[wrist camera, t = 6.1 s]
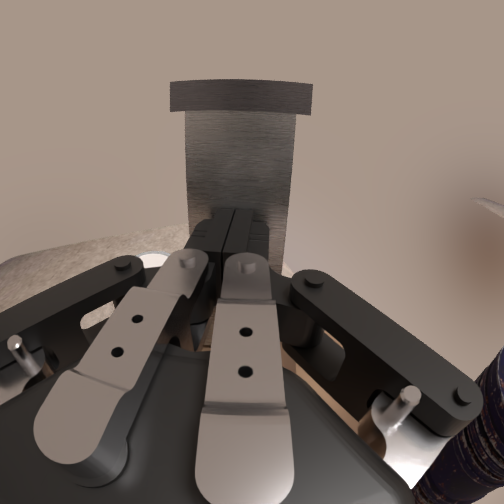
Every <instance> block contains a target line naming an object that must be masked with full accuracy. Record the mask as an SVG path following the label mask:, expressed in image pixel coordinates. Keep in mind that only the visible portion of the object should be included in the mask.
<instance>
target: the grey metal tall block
mask: <svg viewBox="0 0 504 504" xmlns="http://www.w3.org/2000/svg"><path fill="white" fill-rule="evenodd" d="M312 90H313V84H305V83H296V82H285V81H270V80H244V79H222V80H221V79H217V80H190V81H177V82H170V112H175V111H185V150H186V151H185V152H186V182H187V203H188V220H189V234H190V236H191V234H192V232H193V231H194V228H195V227H196V225H197V224H198V223H199V222H201V221H202V220H204V219H213V217H214V215H215V213H216V211H217V209H218V208H219V209H235V211H236V209H238V210H253V222H265V223H266V224H267V226H268V227H269V228H270V234H269V258H268V263H269V266H270V268H271V269H272V270H273V271H275V272H276V273H278V274H280V275H281V272H282V264H283V255H284V245H285V236H286V226H287V216H288V207H289V196H290V184H291V174H292V163H293V150H294V137H295V124H296V114H302V115H311V104H312ZM215 313H216V306H214V309H213V313H212V324H211V327H210V329H209V332H208V335H207V338H206V341H205V343H204V345H211V344H212V336H213V328H214V321H215Z"/></svg>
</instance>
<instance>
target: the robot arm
mask: <svg viewBox="0 0 504 504" xmlns="http://www.w3.org/2000/svg"><path fill="white" fill-rule="evenodd" d="M269 234H270V228H269V227H268V226H267V224H266V223H265V222H253V210H238V209H236V211H235V209H219V208H218V209H217V211H216V213H215V215H214V217H213V219H204V220H202V221H201V222H199V223H198V224H197V225H196V227H195V228H194V231H193V232H192V234H191V236H190V238H189V240H188V241H187V243H186V245H185V247H184V249H182V250H178V251H176V252H174V253H172V254H171V255H169V257H168V258H167V259H166V261H165V262H164V263H163V265H162V266H159V267H151V268H144V265H143V261H142V260H141V259H140V258H139V257H137V256H132V255H125V256H120V257H117V258H114V259H112V260H110V261H107V262H105V263H103V264H101V265H99V266H96V267H94V268H92V269H90V270H87V271H85V272H83V273H81V274H79V275H77V276H74V277H72V278H70V279H68V280H66V281H64V282H62V283H59V284H57V285H55V286H53V287H51V288H49V289H47V290H45V291H43V292H41V293H39V294H37V295H35V296H33V297H31V298H29V299H27V300H25V301H23V302H21V303H19V304H17V305H15V306H13V307H11V308H9V309H7V310H5V311H3V312H1V313H0V504H415V500H414V496H413V493H412V491H411V489H412V487H413V486H414V485H415V484H416V483H417V482H418V480H419V479H420V478H421V477H422V475H423V474H424V473H425V472H426V470H427V469H428V468H429V467H430V465H431V464H432V463H433V461H434V460H435V459H436V457H437V456H438V454H439V453H440V452H441V450H442V449H443V447H444V446H445V444H446V443H447V442H448V441H449V440H450V439H452V438H453V437H454V436H455V435H456V434H458V433H459V432H460V431H461V430H462V429H464V428H465V427H466V426H467V425H468V424H469V423H470V422H472V421H473V420H474V419H475V418H476V417H477V416H478V415H479V414H480V412H481V410H482V407H483V395H482V392H481V390H480V388H479V387H478V385H477V384H476V383H475V382H474V381H473V380H472V379H470V378H469V377H468V376H467V375H465V374H464V373H463V372H461V371H460V370H459V369H457V368H456V367H455V366H453V365H452V364H451V363H449V362H448V361H447V360H446V359H444V358H443V357H442V356H440V355H439V354H438V353H436V352H435V351H434V350H432V349H431V348H429V347H428V346H427V345H426V344H424V343H423V342H422V341H420V340H419V339H417V338H416V337H415V336H413V335H412V334H411V333H409V332H408V331H407V330H405V329H404V328H403V327H401V326H400V325H398V324H397V323H396V322H394V321H393V320H392V319H390V318H389V317H387V316H386V315H385V314H383V313H382V312H380V311H379V310H378V309H376V308H375V307H373V306H372V305H371V304H369V303H368V302H366V301H365V300H363V299H362V298H361V297H359V296H358V295H356V294H355V293H354V292H352V291H351V290H349V289H348V288H347V287H345V286H344V285H343V284H341V283H340V282H338V281H337V280H335V279H334V278H333V277H331V276H330V275H328V274H326V273H324V272H321V271H318V270H302V271H299V272H297V273H295V274H294V275H293V276H292V278H288V277H285V276H282V275H280V274H278V273H276V272H275V271H273V270H272V269H271V268H270V266H269V263H268V258H269ZM111 301H113V304H114V307H115V310H114V312H113V313H112V315H111V316H110V317H109V318H107V319H105V320H103V321H101V322H99V323H97V324H95V325H94V326H92V327H90V328H88V329H81V326H80V321H81V319H82V317H83V316H84V315H85V314H87V313H89V312H91V311H93V310H95V309H97V308H99V307H101V306H103V305H105V304H107V303H109V302H111ZM214 306H216V313H215V321H214V328H213V336H212V344H211V351H202V349H203V346H204V343H205V341H206V338H207V335H208V332H209V329H210V327H211V324H212V313H213V309H214ZM324 331H327V332H328V333H329V334H330V335H331V336H332V337H334V338H335V339H336V340H337V341H338V342H339V343H340V344H341V345H342V346H343V348H344V349H343V348H342V347H341V346H340V345H339V344H337V343H336V342H335V341H334V340H333V339H332V338H330V337H329V336H328V335H327V334H326V333H325V332H324ZM280 342H281V343H282V348H283V349H284V351H285V352H286V353H287V354H288V355H289V356H290V357H291V358H292V359H293V360H294V361H295V362H296V363H297V364H298V365H299V366H300V367H301V368H302V369H303V370H304V371H305V372H306V373H307V374H308V375H309V376H310V377H311V378H312V379H313V380H314V381H315V382H316V383H317V384H318V385H319V386H320V387H321V388H323V389H324V390H325V391H326V392H327V393H328V394H329V395H330V396H331V397H332V398H333V399H334V400H335V401H336V402H337V403H338V404H339V405H340V406H341V407H343V408H344V409H345V410H346V411H347V412H348V413H349V414H350V415H351V416H352V417H353V418H354V419H355V420H357V421H358V422H359V424H358V435H357V434H356V433H355V432H354V431H353V430H352V429H351V428H350V427H349V426H348V425H347V423H346V422H345V421H344V420H343V419H342V418H341V417H340V416H339V415H338V414H337V413H336V412H335V411H334V410H333V409H332V408H331V407H330V406H329V405H328V404H327V403H326V402H325V401H324V400H323V399H322V398H321V397H320V396H319V395H318V394H317V393H316V391H315V390H314V389H313V388H312V387H311V386H310V385H309V384H308V383H307V382H306V381H305V380H303V379H302V378H301V377H300V376H298V375H297V374H295V373H294V372H292V371H290V370H288V369H286V368H284V367H282V359H281V349H280Z"/></svg>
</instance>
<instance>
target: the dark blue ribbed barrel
mask: <svg viewBox="0 0 504 504" xmlns="http://www.w3.org/2000/svg"><path fill="white" fill-rule="evenodd" d="M475 383H476V384H477V385H478V387H479V388H480V390H481V392H482V395H483V407H482V410H481V412H480V414H479V415H478V416H477V417H476V418H475V419H474V420H473V421H472V422H470V423H469V424H468V425H467V426H466V427H465V428H464V429H462V430H461V431H460V432H459V433H458V434H456V435H455V436H454V437H453V438H452V439H450V440H449V441H448V442H447V443H446V444H445V446H444V447H443V449H442V450H441V452H440V453H439V454H438V456H437V457H436V459H435V460H434V461H433V463H432V464H431V465H430V467H429V468H428V469H427V470H426V472H425V473H424V474H423V475H422V477H421V478H420V479H419V480H418V482H417V483H416V484H415V485H414V486H413V487H412V489H411V491H412V493H413V496H414V500H415V504H471V503H473V502H475V501H477V500H479V499H481V498H482V497H484V496H485V495H487V493H489V492H491V491H493V490H495V489H496V488H499V487H503V486H504V346H503V348H502V349H501V350H500V352H499V353H498V354H497V356H496V358H495V359H494V360H493V361H492V362H491V364H490V365H489V366H488V367H486V368H485V370H484V371H483V372H482V373H481V375H480V376H479V377H478V378H477V379H476V380H475Z"/></svg>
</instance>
